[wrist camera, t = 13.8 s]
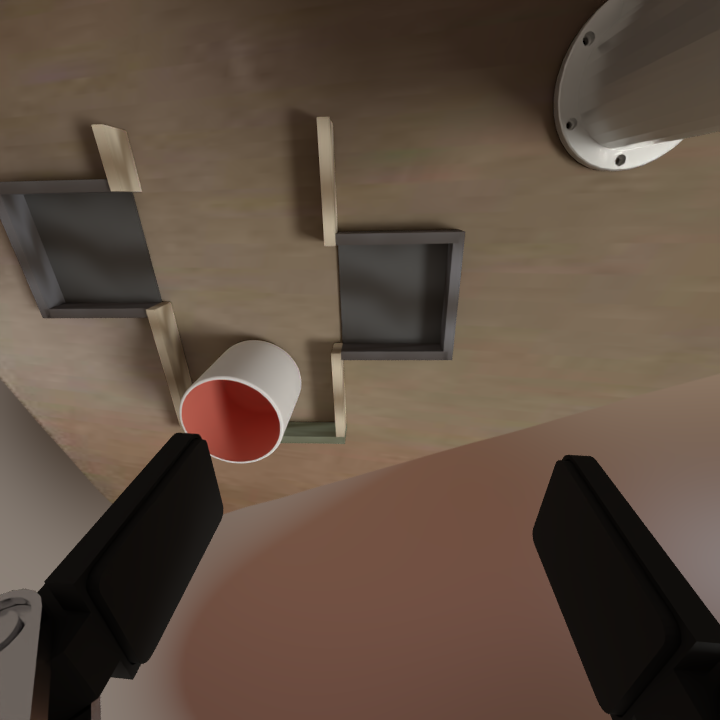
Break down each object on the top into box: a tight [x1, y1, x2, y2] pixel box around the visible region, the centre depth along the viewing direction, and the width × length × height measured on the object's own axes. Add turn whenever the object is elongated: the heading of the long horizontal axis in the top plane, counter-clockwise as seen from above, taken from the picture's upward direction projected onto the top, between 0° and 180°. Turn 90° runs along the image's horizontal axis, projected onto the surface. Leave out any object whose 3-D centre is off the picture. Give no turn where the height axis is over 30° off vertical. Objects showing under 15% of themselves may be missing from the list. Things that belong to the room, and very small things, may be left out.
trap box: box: [0, 117, 465, 444], centre depth 37 cm, size 33×44×3 cm
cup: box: [179, 340, 301, 463], centre depth 37 cm, size 10×10×10 cm
